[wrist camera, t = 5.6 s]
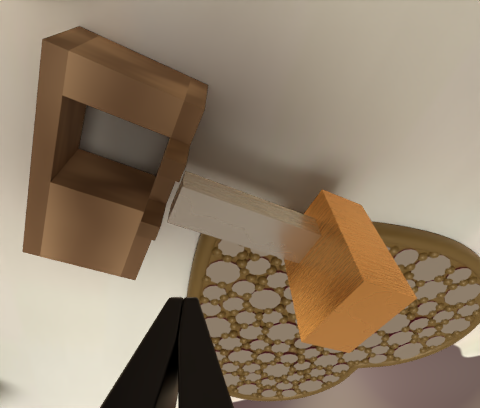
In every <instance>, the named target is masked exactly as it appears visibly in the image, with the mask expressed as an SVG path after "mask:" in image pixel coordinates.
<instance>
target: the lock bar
mask: <svg viewBox="0 0 480 408" xmlns="http://www.w3.org/2000/svg"><path fill="white" fill-rule="evenodd" d="M167 222H168V223H171V224H174V225H177V226H180V227H184V228H187V229H190V230H193V231H196V232H200V233H203V234H206V235H209V236H212V237H216V238H219V239H222V240H225V241H228V242H232V243H235V244H238V245H241V246H244V247H248V248H251V249H254V250H257V251H260V252H264V253H267V254H270V255H273V256H276V257H280V258H283V259H284V262H285V267H286V272H287V277H288V281H289V286H290V291H291V295H292V300H293V305H294V310H295V314H296V319H297V324H298V329H299V333H300V338H301V342H303V343H307V344H312V345H316V346H320V347H325V348H329V349H333V350H338V351H342V352H346V353H350V352H351V351H353V350H354V349H355V348H356V347H358V346H359V345H360V344H361V343H363V342H364V341H365V340H366V339H367V338H369V337H370V336H371V335H372V334H374V333H375V332H376V331H377V330H379V329H380V328H381V327H382V326H384V325H385V324H386V323H387V322H388V321H390V320H391V319H392V318H393V317H395V316H396V315H397V314H398V313H400V312H401V311H402V310H403V309H405V308H406V307H407V306H408V305H409V304H411V303H412V302H413V301H414V300H416V299H417V297H416V295H415V294H414V292H413V290H412V289H411V287H410V285H409V284H408V282H407V280H406V279H405V277H404V275H403V274H402V272H401V270H400V269H399V267H398V265H397V264H396V262H395V260H394V259H393V257H392V255H391V254H390V252H389V250H388V249H387V247H386V245H385V244H384V242H383V240H382V239H381V237H380V235H379V234H378V232H377V230H376V229H375V227H374V225H373V223H372V222H371V220H370V218H369V217H368V215H367V213H366V212H365V210H364V208H363V207H362V205H360V204H357V203H355V202H352V201H350V200H347V199H345V198H342V197H340V196H337V195H335V194H332V193H330V192H327V191H325V190H321V191H320V193H319V194H318V195H317V197H316V198H315V199H314V201H313V202H312V203H311V205H310V206H309V208H308V209H307V210H306V212H305V213H304V214H302V213H299V212H296V211H294V210H291V209H288V208H285V207H283V206H280V205H277V204H274V203H272V202H269V201H266V200H264V199H261V198H258V197H255V196H253V195H250V194H247V193H245V192H242V191H239V190H236V189H234V188H231V187H228V186H225V185H223V184H220V183H217V182H215V181H212V180H209V179H206V178H204V177H201V176H198V175H195V174H193V173H190V172H187V171H185V173H184V176H183V178H182V181H181V183H180V185H179V188H178V190H177V192H176V195H175V197H174V200H173V202H172V204H171V208H170V212H169V217H168V221H167Z"/></svg>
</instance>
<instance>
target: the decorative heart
mask: <svg viewBox="0 0 480 408" xmlns="http://www.w3.org/2000/svg"><path fill="white" fill-rule="evenodd" d="M372 223H373V225H374V227H375V229H376V230H377V232H378V234H379V235H380V237H381V239H382V240H383V242H384V244H385V245H386V247H387V249H388V250H389V252H390V254H391V255H392V257H393V259H394V260H395V262H396V264H397V265H398V267H399V269H400V270H401V272H402V274H403V275H404V277H405V279H406V280H407V282H408V284H409V285H410V287H411V289H412V290H413V292H414V294H415V295H416V297H417V299H416V300H414V301H413V302H412V303H411V304H409V305H408V306H407V307H406V308H405V309H403V310H402V311H401V312H400V313H398V314H397V315H396V316H395V317H393V318H392V319H391V320H390V321H388V322H387V323H386V324H385V325H384V326H382V327H381V328H380V329H379V330H377V331H376V332H375V333H374V334H372V335H371V336H370V337H369V338H367V339H366V340H365V341H364V342H363V343H361V344H360V345H359V346H358V347H356V348H355V349H354V350H353V351H351V352H350V353H346V352H342V351H338V350H333V349H329V348H325V347H320V346H316V345H312V344H307V343H303V342H301V338H300V333H299V329H298V324H297V319H296V314H295V310H294V305H293V300H292V295H291V291H290V286H289V281H288V277H287V272H286V267H285V262H284V259H283V258H280V257H276V256H273V255H270V254H267V253H264V252H260V251H257V250H254V249H251V248H248V247H244V246H241V245H238V244H235V243H232V242H228V241H225V240H222V239H219V238H216V237H212V236H209V235H206V234H203V233H201V235H200V238H199V241H198V244H197V248H196V251H195V255H194V259H193V264H192V269H191V274H190V280H189V286H188V293H187V297H197V298H198V300H199V303H200V306H201V309H202V312H203V315H204V318H205V321H206V324H207V327H208V330H209V333H210V336H211V339H212V342H213V345H214V348H215V351H216V355H217V358H218V361H219V364H220V367H221V370H222V373H223V376H224V379H225V382H226V385H227V388H228V391H229V394H230V396H232V397H236V398H241V399H247V400H256V401H282V400H291V399H298V398H303V397H307V396H311V395H314V394H317V393H319V392H322V391H325V390H327V389H330V388H331V387H334V386H335V385H337V384H339V383H341V382H342V381H344V380H345V379H346V378H347V377H349V376H350V375H351V374H352V373H353V372H354V371H355V370H356V369H357V368H367V367H383V366H391V365H396V364H401V363H406V362H410V361H413V360H417V359H420V358H423V357H426V356H429V355H431V354H434V353H436V352H439V351H440V350H443V349H445V348H447V347H449V346H451V345H452V344H454V343H456V342H457V341H459V340H460V339H462V338H463V337H465V336H466V335H467V334H468V333H470V332H471V331H472V330H473V329H474V328H475V327H476V326H477V325H478V324H479V323H480V257H479V256H478V255H477V254H476V253H474V252H473V251H472V250H471V249H469V248H467V247H466V246H464V245H463V244H461V243H459V242H457V241H455V240H452V239H450V238H447V237H444V236H441V235H439V234H435V233H431V232H428V231H423V230H419V229H415V228H410V227H405V226H399V225H393V224H386V223H379V222H372Z"/></svg>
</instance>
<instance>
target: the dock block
mask: <svg viewBox="0 0 480 408" xmlns="http://www.w3.org/2000/svg"><path fill="white" fill-rule="evenodd" d="M207 90H208V85H207V84H204V83H202V82H200V81H198V80H196V79H193V78H191V77H189V76H187V75H185V74H183V73H180V72H178V71H176V70H174V69H172V68H169V67H167V66H165V65H163V64H161V63H159V62H156V61H154V60H152V59H150V58H148V57H145V56H143V55H141V54H139V53H137V52H135V51H132V50H130V49H128V48H126V47H124V46H121V45H119V44H117V43H115V42H113V41H110V40H108V39H106V38H104V37H102V36H100V35H97V34H95V33H93V32H91V31H89V30H86V29H84V28H82V27H80V26H79V27H76V28H73V29H70V30H67V31H64V32H62V33H59V34H56V35H53V36H50V37H48V38H45V39H42V49H41V60H40V71H39V81H38V92H37V103H36V114H35V124H34V135H33V146H32V156H31V167H30V178H29V188H28V199H27V210H26V221H25V231H24V242H23V252H25V253H29V254H33V255H37V256H41V257H45V258H49V259H53V260H57V261H61V262H65V263H69V264H73V265H77V266H81V267H85V268H89V269H93V270H97V271H100V272H104V273H108V274H112V275H116V276H120V277H124V278H128V279H132V280H136V277H137V275H138V272H139V270H140V267H141V265H142V262H143V260H144V257H145V255H146V253H147V250H148V248H149V245H150V243H151V240H154V241H155V239H156V237H157V234H158V232H159V229H160V226H161V223H162V219H163V215H164V211H165V207H166V203H167V201H168V198H169V196H170V194H171V191H172V189H173V186H174V184H175V181H177V182H179V181H180V179H181V176H182V174H183V172H184V169H185V167H186V164H187V158H188V153H189V148H190V144H191V142H192V139H193V137H194V135H195V132H196V130H197V127H198V125H199V122H200V120H201V117H202V115H203V112H204V110H205V104H206V97H207ZM87 105H88V106H91V107H93V108H96V109H99V110H101V111H104V112H106V113H109V114H111V115H114V116H116V117H119V118H121V119H124V120H127V121H129V122H132V123H134V124H137V125H139V126H142V127H144V128H147V129H150V130H152V131H155V132H157V133H160V134H162V135H165V136H167V137H170V139H169V141H168V144H167V147H166V150H165V152H164V155H163V158H162V161H161V163H160V166H159V169H158V172H157V175H156V176H155V175H152V174H150V173H147V172H144V171H141V170H138V169H135V168H132V167H130V166H127V165H124V164H121V163H118V162H115V161H113V160H110V159H107V158H104V157H101V156H98V155H96V154H93V153H90V152H87V151H84V150H81V149H79V144H80V138H81V133H82V128H83V122H84V117H85V111H86V106H87Z"/></svg>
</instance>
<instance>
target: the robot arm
mask: <svg viewBox="0 0 480 408" xmlns="http://www.w3.org/2000/svg"><path fill="white" fill-rule="evenodd" d="M177 396H178V401H179V408H234V407H233V403H232V400H231V397H230V394H229V391H228V388H227V385H226V382H225V379H224V376H223V373H222V370H221V367H220V364H219V361H218V358H217V355H216V351H215V348H214V345H213V342H212V339H211V336H210V333H209V330H208V327H207V324H206V321H205V318H204V315H203V312H202V309H201V306H200V303H199V300H198V298H197V297H186V298H184V299H183V298H182V297H171V298H169V299H168V300H167V302H166V303H165V305H164V307H163V308H162V310H161V311H160V313H159V315H158V316H157V318H156V319H155V321H154V323H153V324H152V326H151V327H150V329H149V330H148V332H147V334H146V335H145V337H144V338H143V340H142V342H141V343H140V345H139V346H138V348H137V350H136V351H135V353H134V354H133V356H132V358H131V359H130V361H129V362H128V364H127V365H126V367H125V369H124V370H123V372H122V373H121V375H120V377H119V378H118V380H117V381H116V383H115V385H114V386H113V388H112V389H111V391H110V393H109V394H108V396H107V397H106V399H105V400H104V402H103V404H102V405H101V407H100V408H175V407H176V401H177Z"/></svg>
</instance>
